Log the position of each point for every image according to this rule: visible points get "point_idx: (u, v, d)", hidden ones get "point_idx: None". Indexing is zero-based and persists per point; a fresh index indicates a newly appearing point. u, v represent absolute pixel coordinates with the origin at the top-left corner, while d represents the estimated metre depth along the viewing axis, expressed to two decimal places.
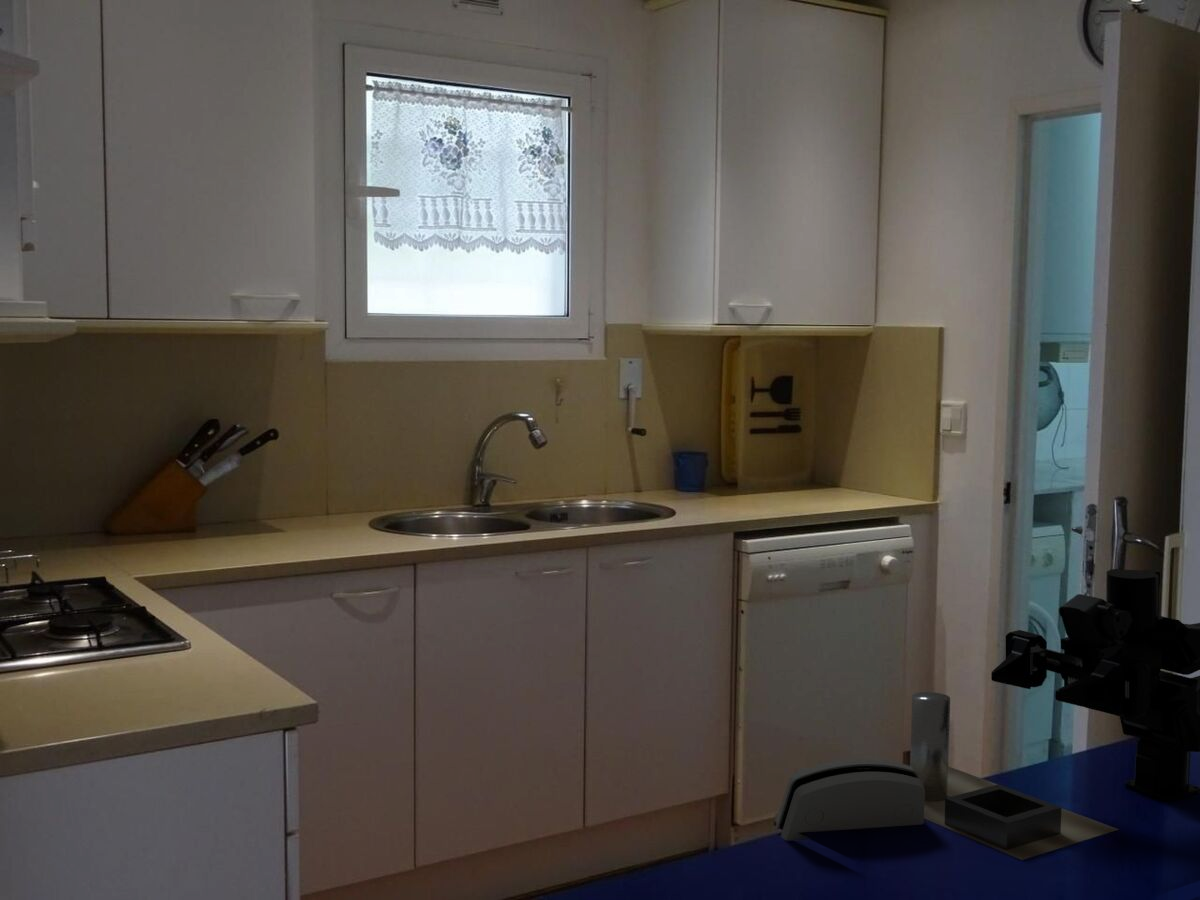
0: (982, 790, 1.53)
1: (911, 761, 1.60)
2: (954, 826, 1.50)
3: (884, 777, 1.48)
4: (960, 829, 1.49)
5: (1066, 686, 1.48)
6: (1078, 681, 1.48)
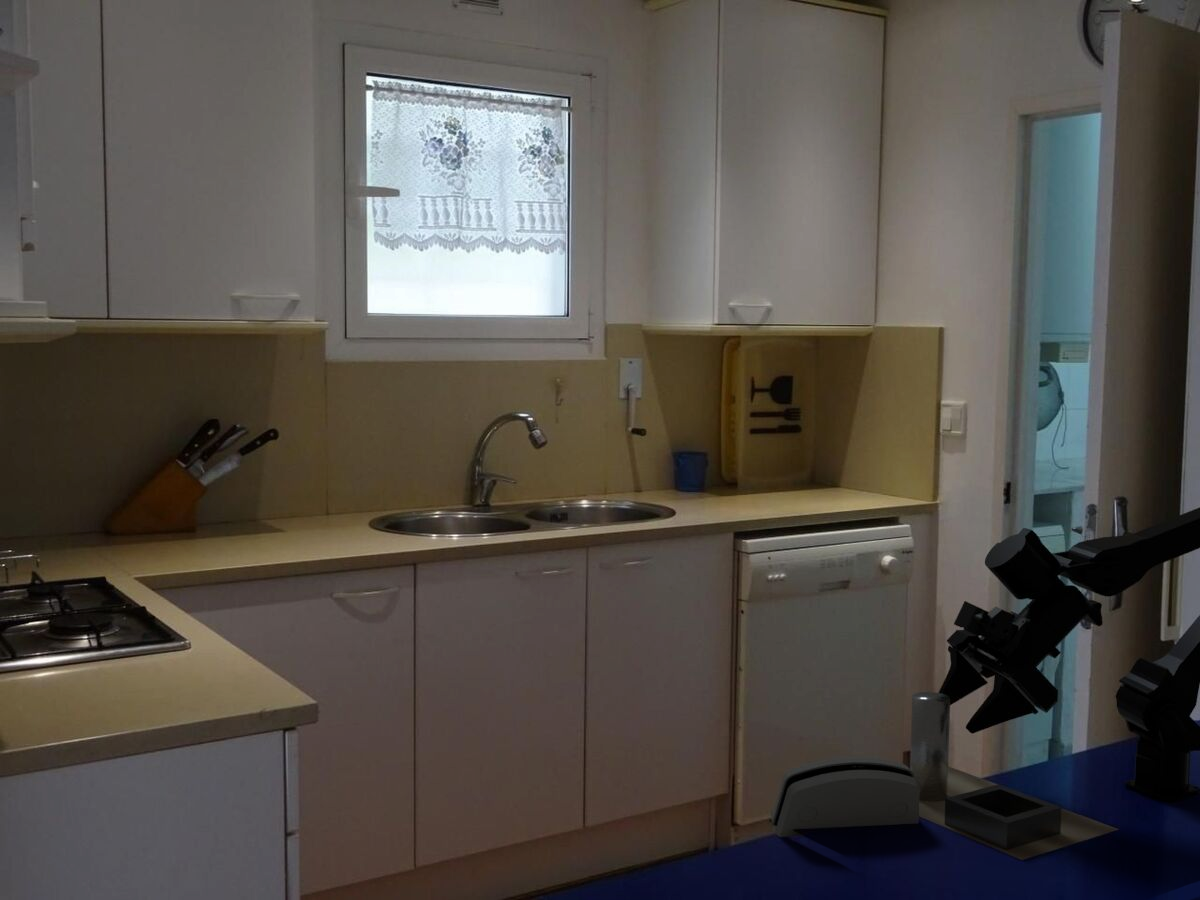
0: (982, 790, 1.53)
1: (911, 761, 1.60)
2: (954, 826, 1.50)
3: (878, 775, 1.48)
4: (960, 829, 1.49)
5: (973, 717, 1.55)
6: (982, 706, 1.55)
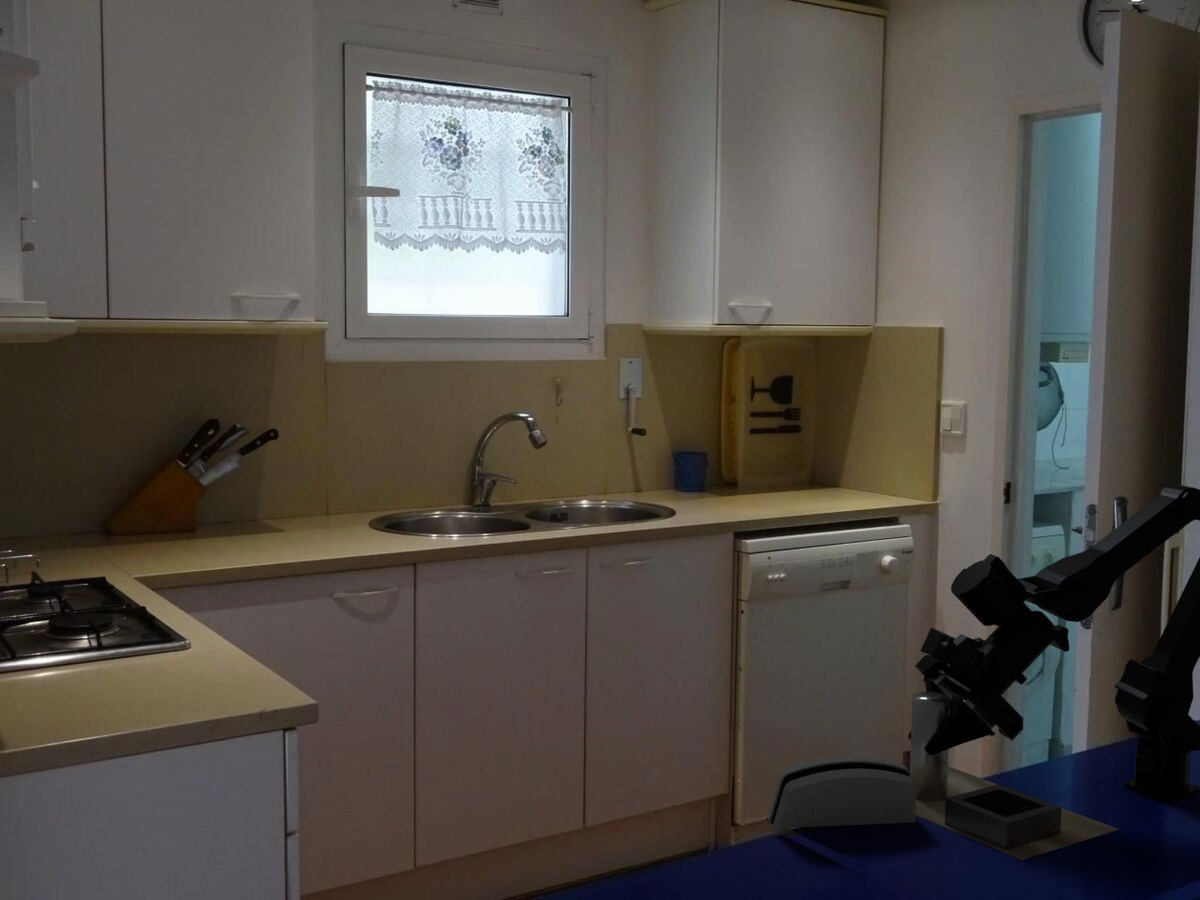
0: (982, 790, 1.53)
1: (911, 761, 1.60)
2: (954, 826, 1.50)
3: (874, 774, 1.49)
4: (960, 829, 1.49)
5: (931, 739, 1.57)
6: (940, 728, 1.57)
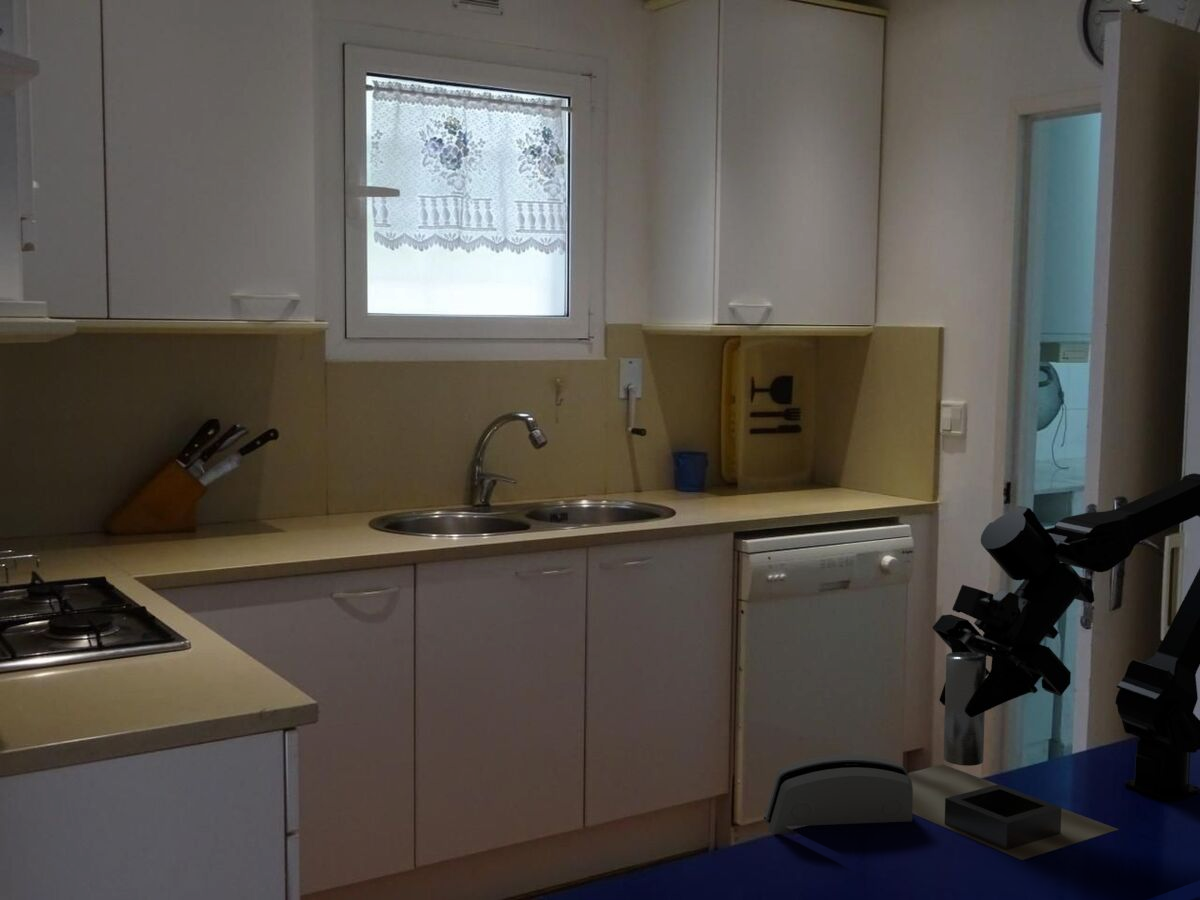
0: (982, 790, 1.53)
1: (947, 725, 1.53)
2: (954, 826, 1.50)
3: (871, 773, 1.49)
4: (960, 829, 1.49)
5: (972, 700, 1.51)
6: (981, 688, 1.51)
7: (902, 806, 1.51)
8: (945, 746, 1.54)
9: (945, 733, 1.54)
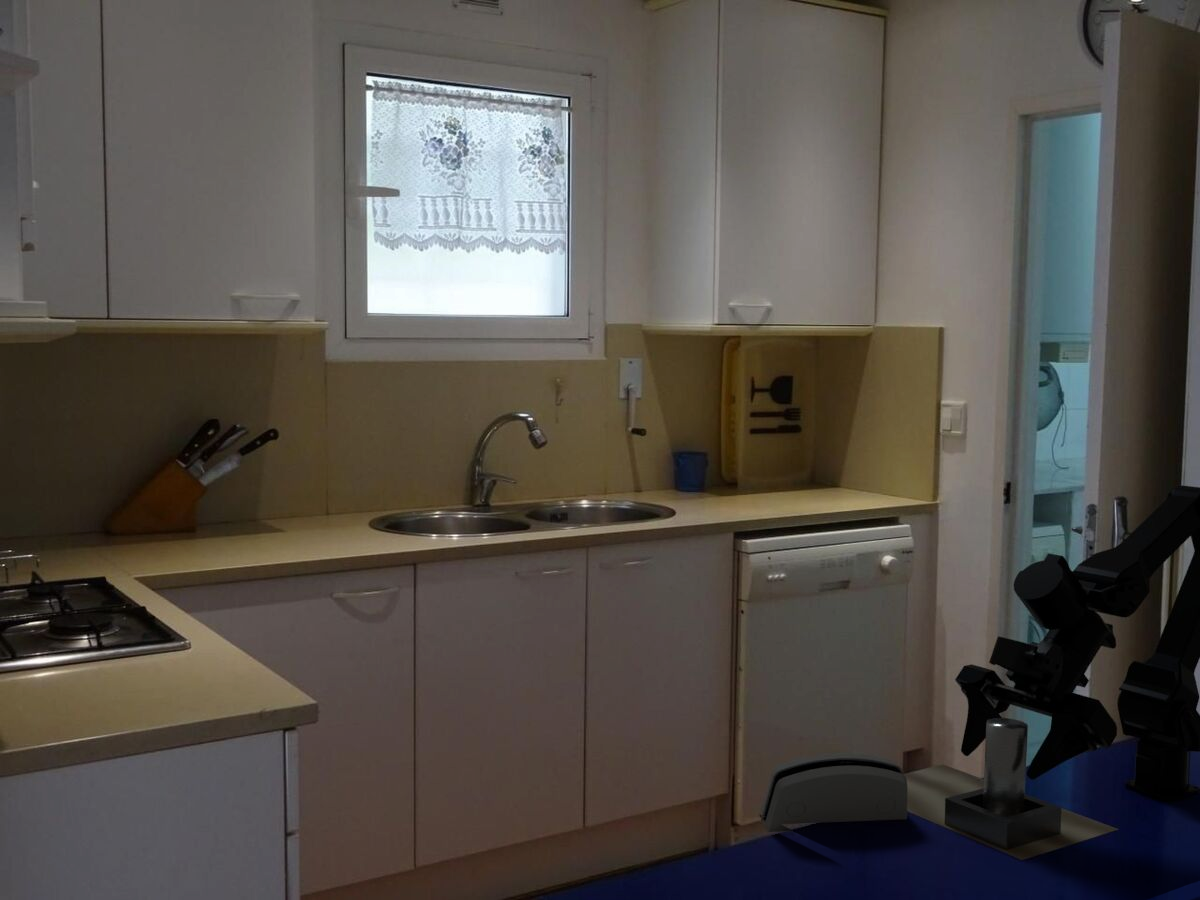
0: (982, 790, 1.53)
1: (989, 795, 1.48)
2: (954, 826, 1.50)
3: (865, 771, 1.50)
4: (960, 829, 1.49)
5: (1033, 762, 1.44)
6: (1041, 749, 1.45)
7: (897, 804, 1.52)
8: None
9: (986, 803, 1.49)
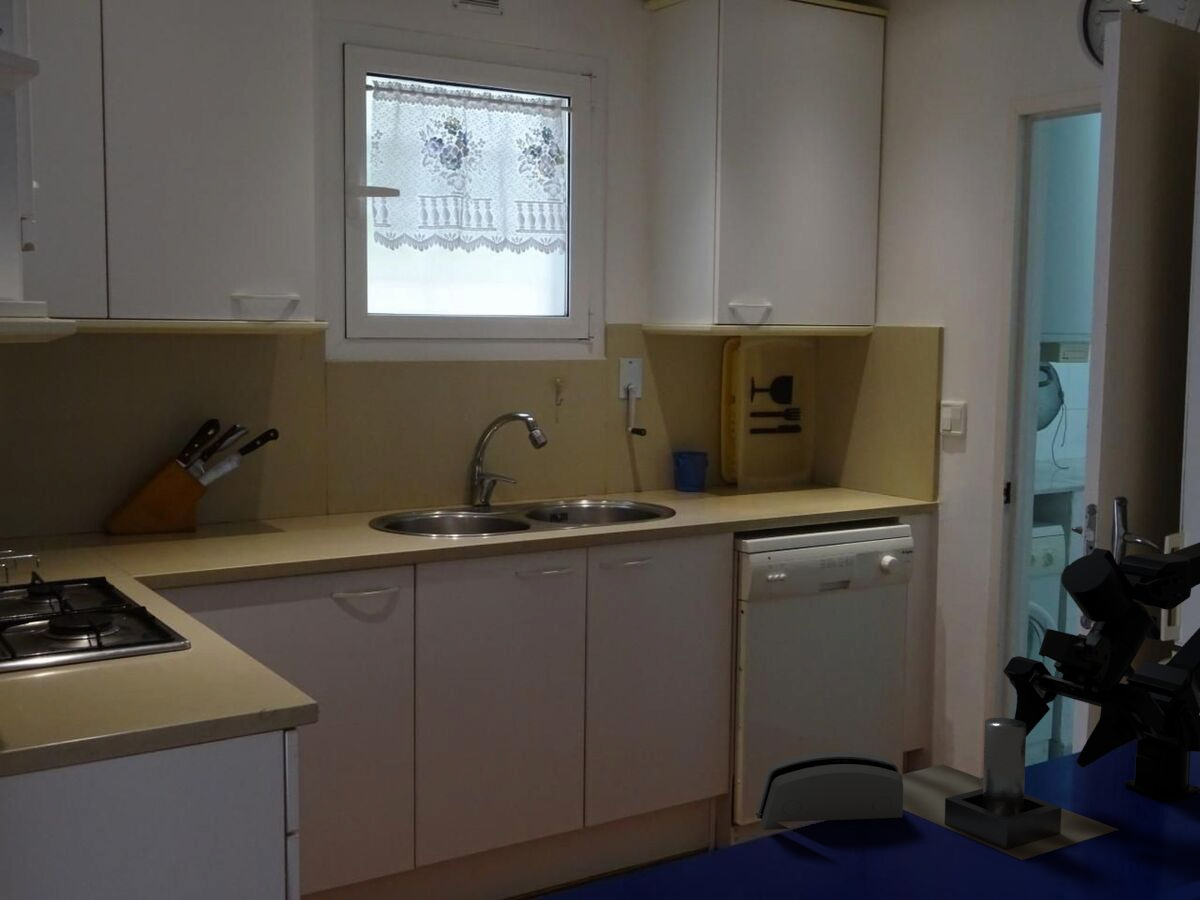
0: (982, 790, 1.53)
1: (989, 795, 1.48)
2: (954, 826, 1.50)
3: (861, 770, 1.50)
4: (960, 829, 1.49)
5: (1084, 750, 1.49)
6: (1091, 737, 1.49)
7: (893, 802, 1.52)
8: None
9: (985, 803, 1.49)
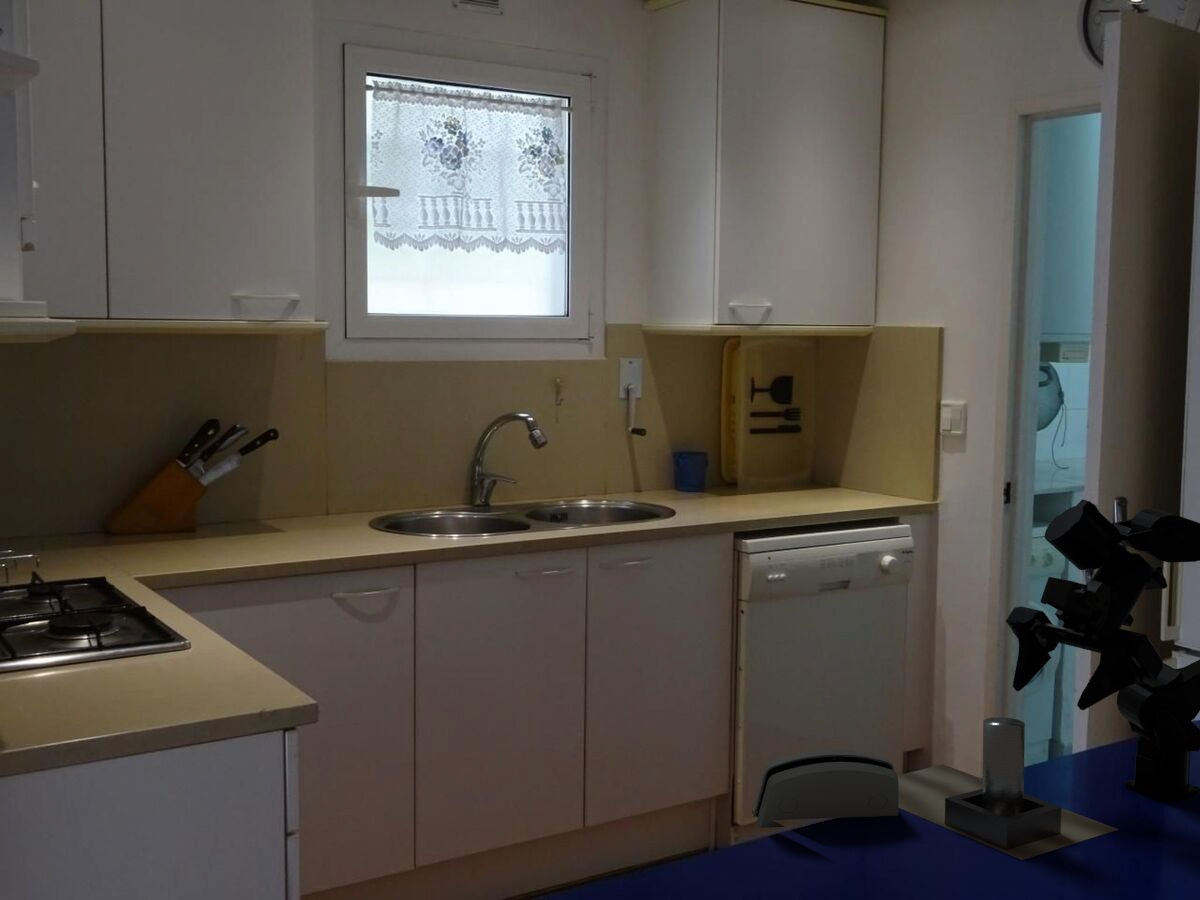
0: None
1: (988, 795, 1.48)
2: (954, 826, 1.50)
3: (857, 767, 1.51)
4: (960, 829, 1.49)
5: (1084, 694, 1.53)
6: (1091, 681, 1.53)
7: (888, 800, 1.53)
8: None
9: (985, 803, 1.49)
